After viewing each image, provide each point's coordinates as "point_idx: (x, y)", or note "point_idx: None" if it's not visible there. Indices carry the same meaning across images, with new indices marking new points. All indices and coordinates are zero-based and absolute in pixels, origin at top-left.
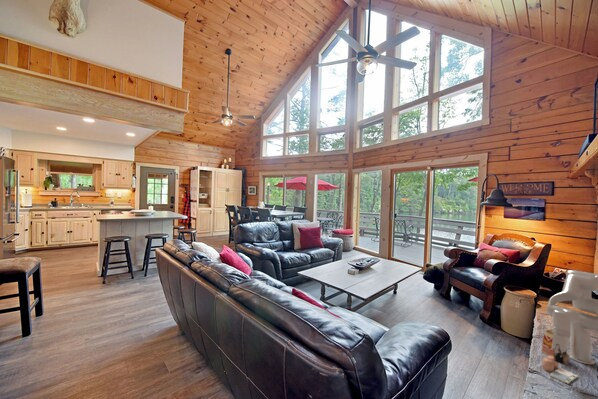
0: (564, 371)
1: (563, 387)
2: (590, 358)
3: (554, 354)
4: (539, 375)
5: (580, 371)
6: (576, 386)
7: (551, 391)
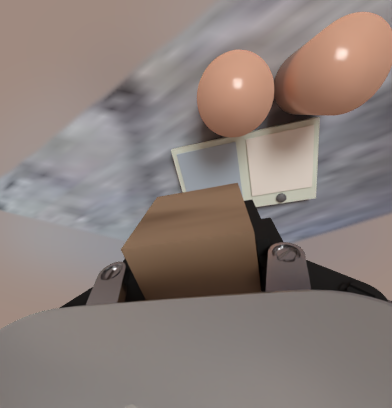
0: (288, 157)
1: None
2: None
3: (135, 237)
4: (117, 132)
5: None
6: None
7: (72, 219)
